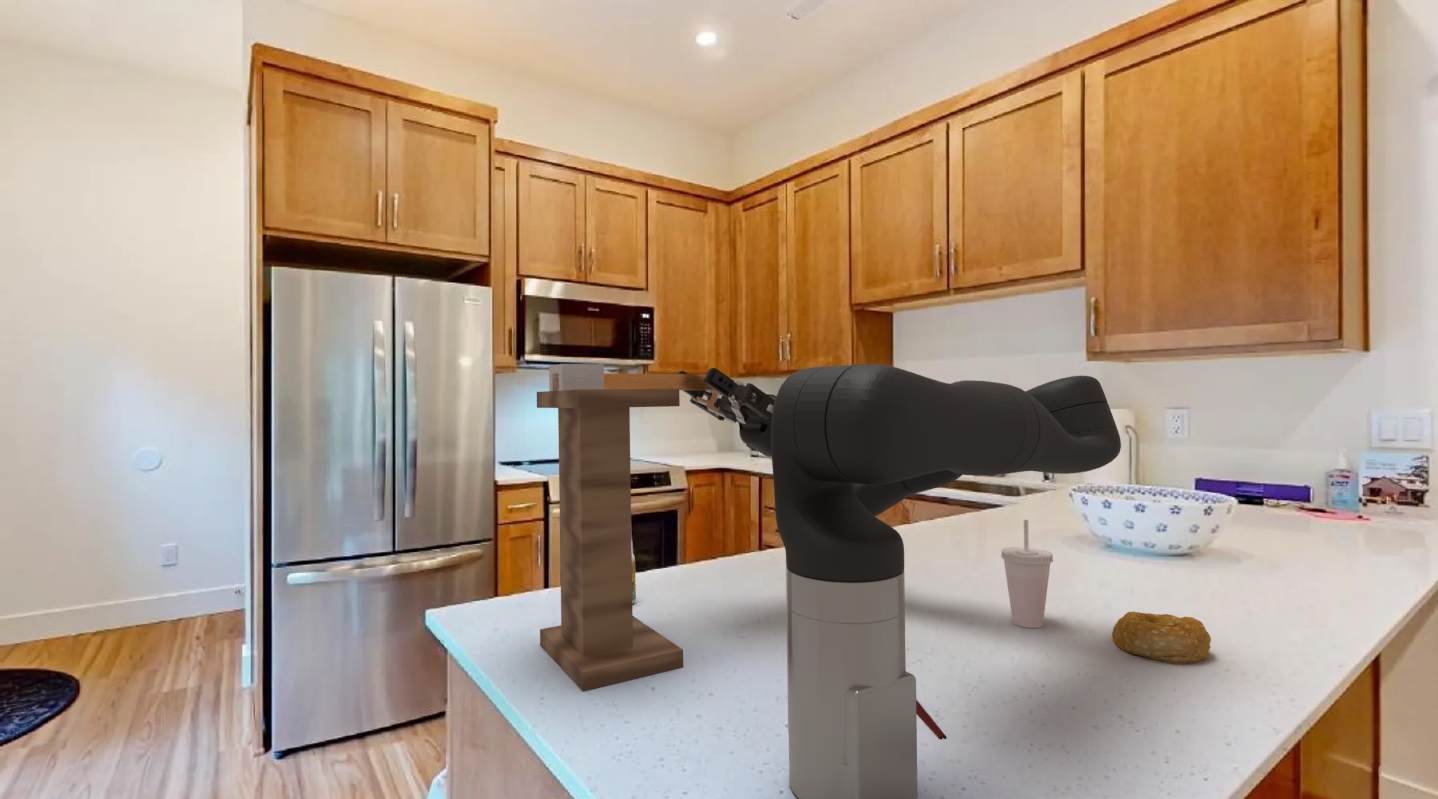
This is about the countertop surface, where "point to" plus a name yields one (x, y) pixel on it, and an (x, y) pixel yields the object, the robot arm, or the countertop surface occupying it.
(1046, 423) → the robot arm
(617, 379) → the wooden handled hammer
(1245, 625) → the countertop surface
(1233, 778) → the countertop surface
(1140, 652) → the bagel
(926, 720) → the chopstick
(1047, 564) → the smoothie
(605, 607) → the wooden pedestal
